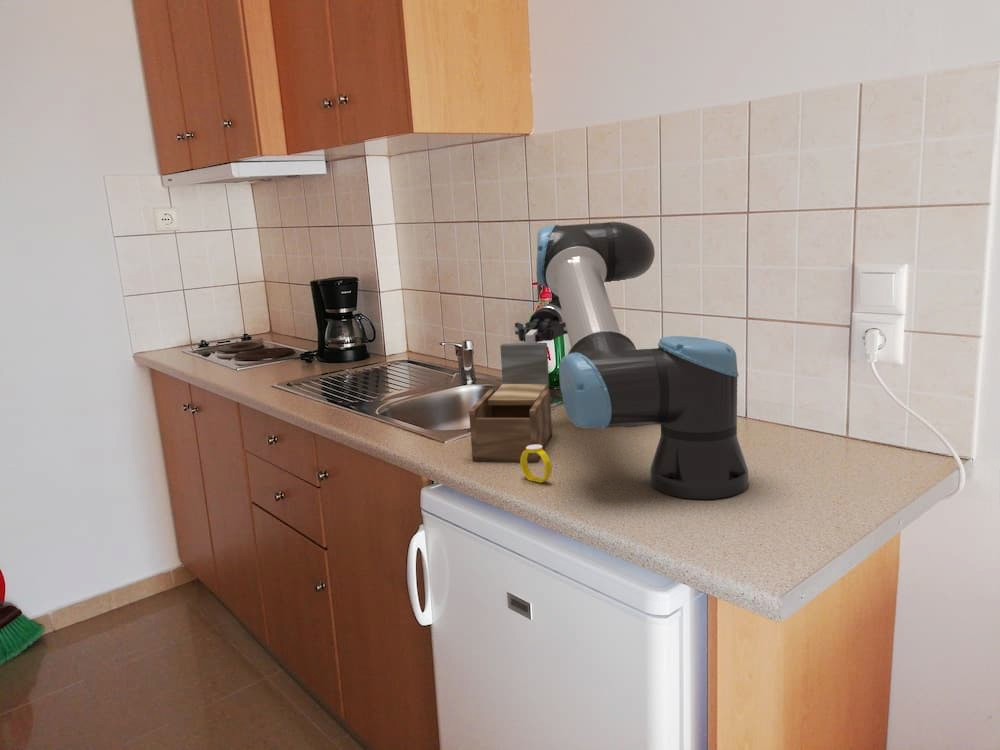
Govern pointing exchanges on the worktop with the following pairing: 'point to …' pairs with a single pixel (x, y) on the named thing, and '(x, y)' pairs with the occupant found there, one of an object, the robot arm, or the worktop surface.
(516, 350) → the lid
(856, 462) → the worktop surface
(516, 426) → the walnut box
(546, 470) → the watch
